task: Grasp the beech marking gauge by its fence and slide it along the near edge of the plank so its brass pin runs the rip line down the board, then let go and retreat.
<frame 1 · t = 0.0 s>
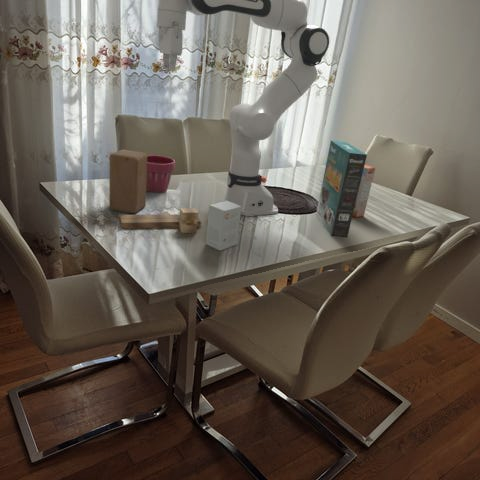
hand: (169, 69, 139), 48 cm above the table, fingers open, 8 cm apart
plant pot: (156, 189, 178), on the table
small box: (221, 245, 133), on the table
wooden block: (127, 208, 153), on the table
cracker box: (346, 212, 181), on the table
cake mix box: (330, 226, 162), on the table
plank: (160, 223, 143), on the table
gauge: (187, 230, 141), on the table
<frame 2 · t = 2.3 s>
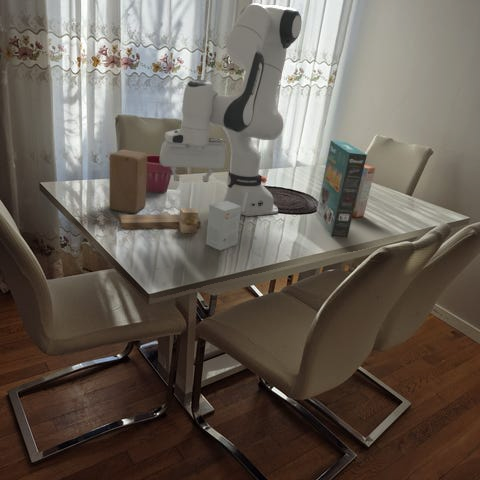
hand: (191, 181, 134), 17 cm above the table, fingers open, 8 cm apart
nothing on the table moved.
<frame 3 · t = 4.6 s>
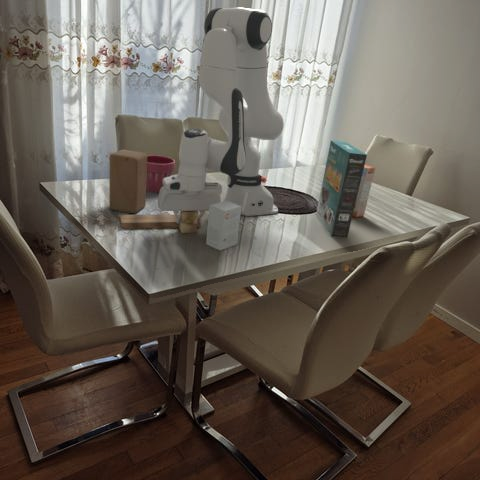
hand: (188, 222, 140), 3 cm above the table, fingers closed on gauge, 5 cm apart
gauge: (187, 230, 141), on the table, touching gripper
everything else where it was.
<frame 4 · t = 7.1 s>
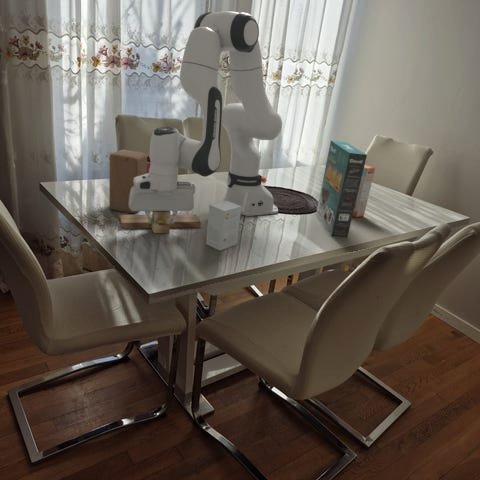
hand: (160, 223, 136), 3 cm above the table, fingers closed on gauge, 5 cm apart
gauge: (160, 230, 137), on the table, touching gripper
everything else where it was.
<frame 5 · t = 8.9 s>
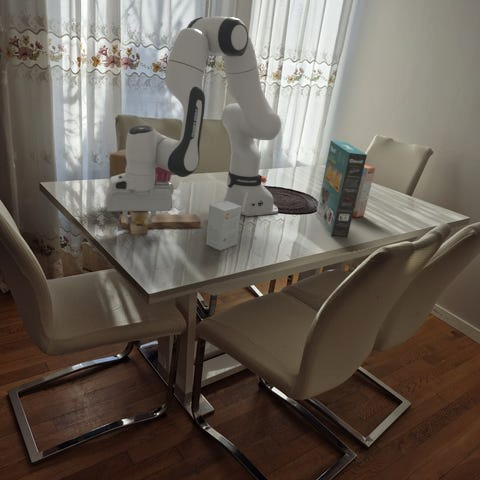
hand: (138, 223, 134), 3 cm above the table, fingers closed on gauge, 5 cm apart
gauge: (138, 231, 135), on the table, touching gripper
everything else where it was.
when the fingers open (3 cm above the table, at t = 10.0 s): gauge stays where it is, on the table.
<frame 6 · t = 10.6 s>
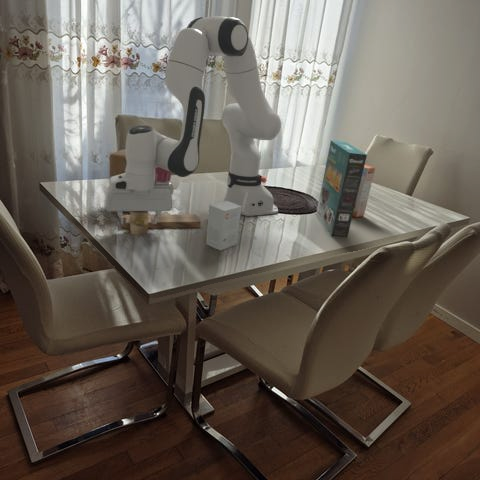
hand: (138, 223, 134), 3 cm above the table, fingers open, 8 cm apart
gauge: (138, 231, 135), on the table
everything else where it was.
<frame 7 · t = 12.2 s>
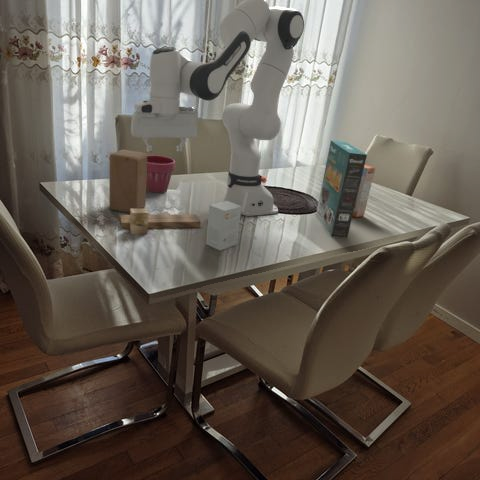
hand: (164, 151, 134), 24 cm above the table, fingers open, 8 cm apart
nothing on the table moved.
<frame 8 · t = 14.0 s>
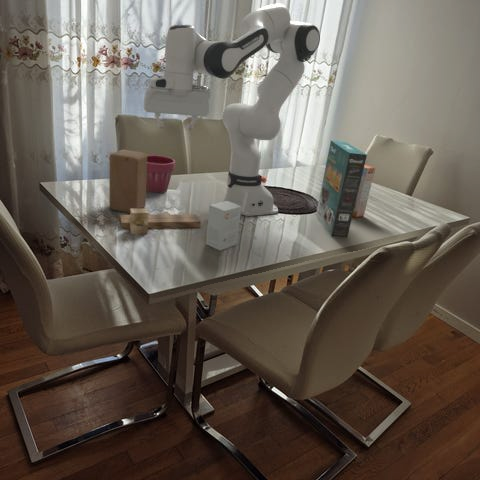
hand: (175, 128, 135), 31 cm above the table, fingers open, 8 cm apart
nothing on the table moved.
at the end: gauge 0.6 cm from the target spot, on the table; gauge moved 16.0 cm from its start; the gripper is holding nothing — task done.
